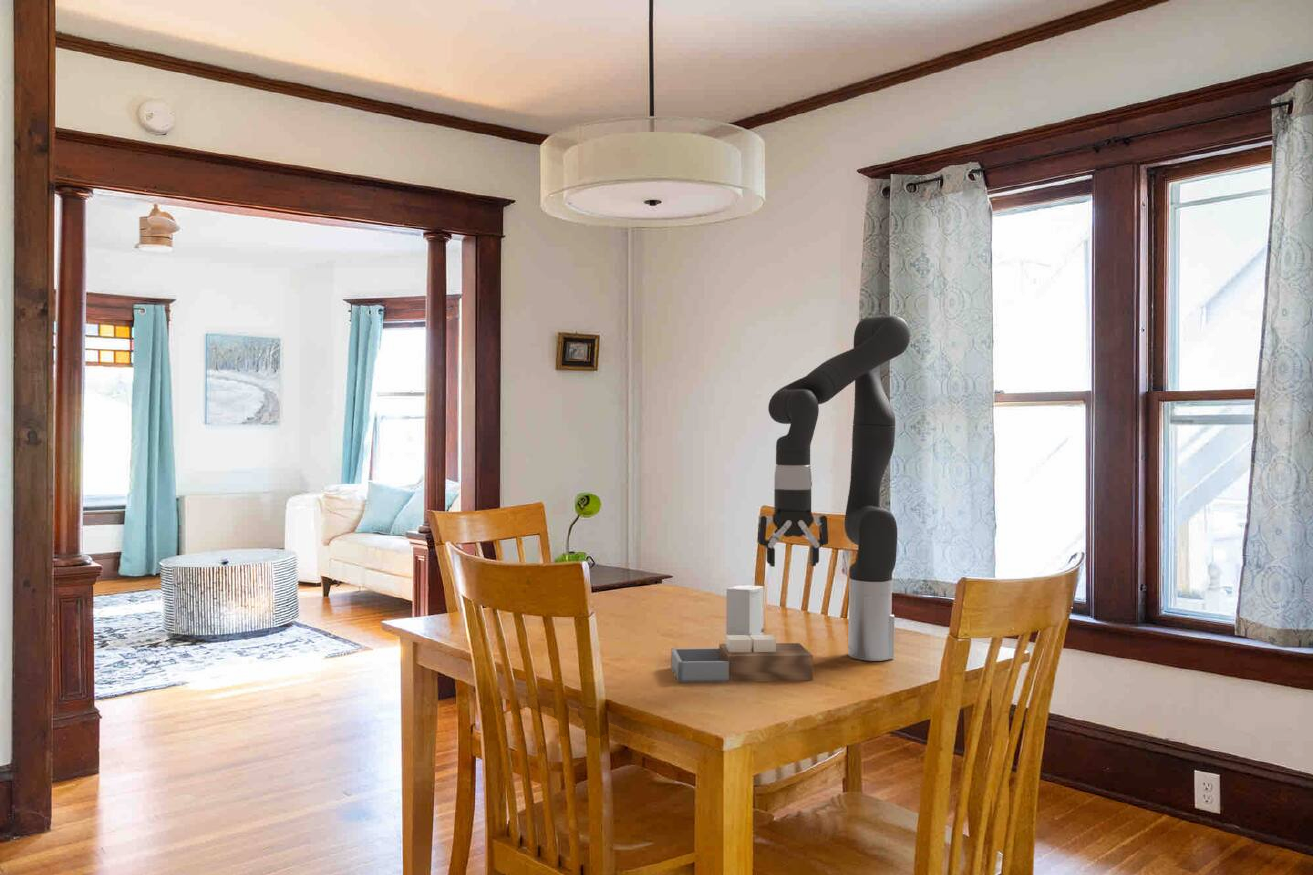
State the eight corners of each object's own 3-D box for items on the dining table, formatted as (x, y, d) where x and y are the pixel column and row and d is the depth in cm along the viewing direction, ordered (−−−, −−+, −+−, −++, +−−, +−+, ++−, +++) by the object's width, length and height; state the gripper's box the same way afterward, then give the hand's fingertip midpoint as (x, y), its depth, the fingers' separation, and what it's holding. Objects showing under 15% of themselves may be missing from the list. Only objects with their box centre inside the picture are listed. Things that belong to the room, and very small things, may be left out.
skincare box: (749, 658, 208) (750, 590, 208) (724, 654, 211) (725, 587, 211) (764, 650, 215) (765, 585, 215) (740, 647, 218) (741, 582, 218)
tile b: (747, 646, 196) (747, 634, 196) (751, 652, 192) (751, 639, 192) (725, 647, 196) (725, 635, 196) (729, 652, 192) (729, 639, 192)
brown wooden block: (798, 666, 201) (798, 642, 201) (812, 680, 190) (812, 655, 190) (718, 667, 199) (719, 643, 199) (728, 681, 188) (728, 656, 188)
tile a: (770, 646, 197) (771, 634, 197) (775, 651, 192) (775, 639, 192) (749, 646, 197) (749, 634, 196) (753, 652, 192) (754, 639, 192)
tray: (718, 667, 200) (718, 647, 200) (728, 682, 188) (728, 661, 188) (671, 667, 199) (671, 648, 199) (678, 682, 187) (678, 662, 187)
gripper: (822, 485, 200) (822, 563, 200) (755, 485, 198) (754, 563, 199) (831, 488, 192) (831, 568, 192) (762, 488, 191) (761, 568, 191)
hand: (792, 565), depth 195 cm, fingers open, 8 cm apart
